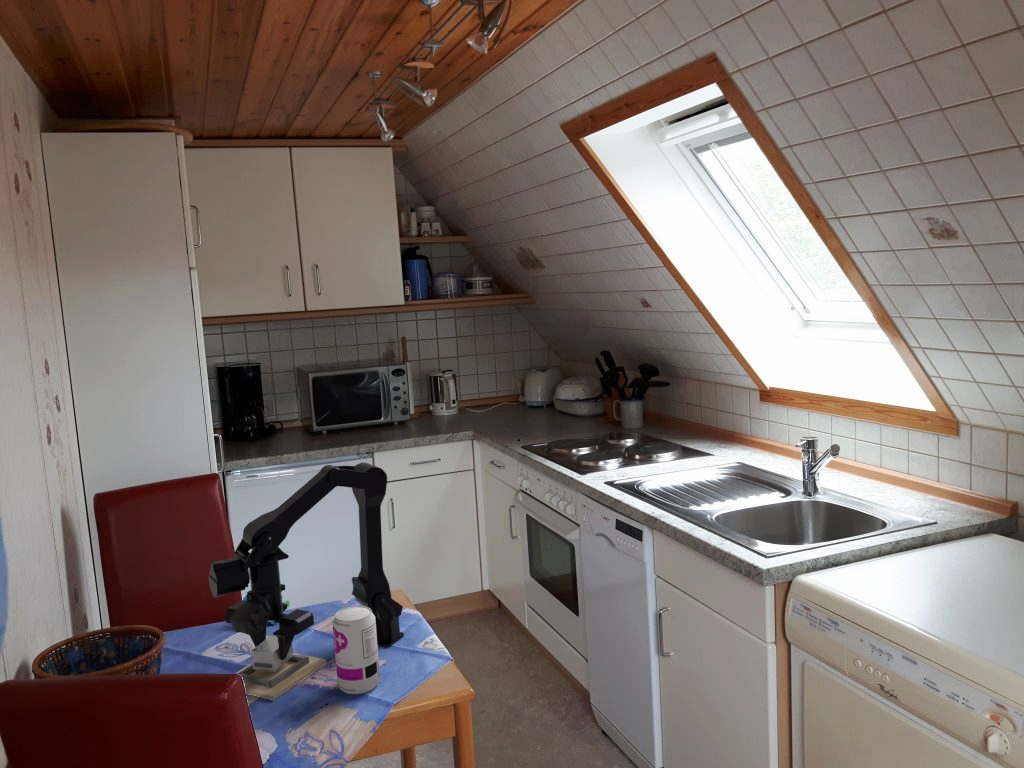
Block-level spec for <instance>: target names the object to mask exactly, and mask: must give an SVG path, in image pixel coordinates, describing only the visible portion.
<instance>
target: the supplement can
mask: <svg viewBox="0 0 1024 768" xmlns="http://www.w3.org/2000/svg"><path fill="white" fill-rule="evenodd" d="M332 632H333V633H332V635H333V644H334V645H333V646H334V656H335V658H334V659H335V669H336V670H335V671H336V682H337V687H338V690H340V691H342V692H343V693H346V694H349V695H361V694H366V693H368V692H371V691H373V690H374V689H375V688H377V685H378V684H379V683H380V681H381V678H380V677H381V675H380V661H379V649H378V648H379V647H378V645H377V634H376V621H375V616H374V614H373V613H372V611H371V609H370V608H368V607H365V606H362V605H353V606H348V607H344V608H342V609H339V610H338V611H336V613H335V615H334V618H333V620H332Z"/></svg>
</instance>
